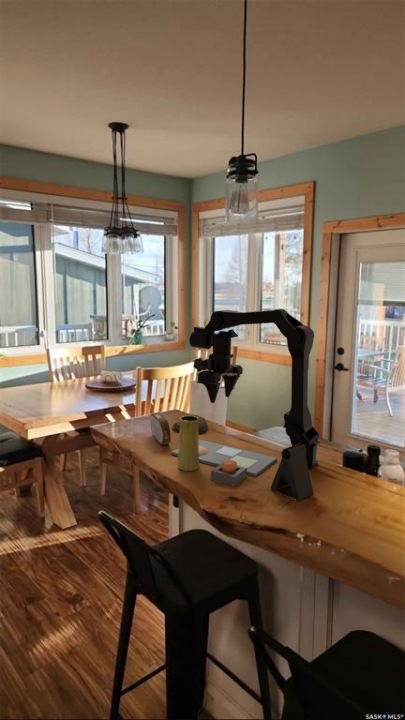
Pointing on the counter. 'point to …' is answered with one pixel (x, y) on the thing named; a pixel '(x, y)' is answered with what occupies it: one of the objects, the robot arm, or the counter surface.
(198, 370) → the robot arm
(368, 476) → the counter surface
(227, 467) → the button
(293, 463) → the phone stand
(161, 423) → the tin
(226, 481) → the button housing
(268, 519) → the counter surface
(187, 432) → the vase
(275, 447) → the counter surface
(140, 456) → the counter surface
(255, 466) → the picture board
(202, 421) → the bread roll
